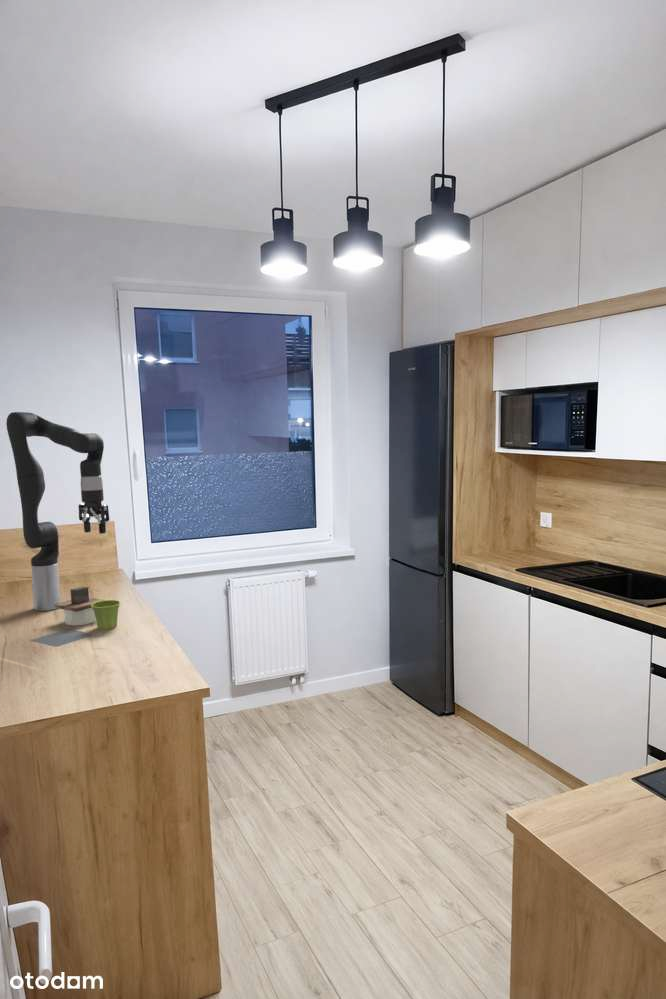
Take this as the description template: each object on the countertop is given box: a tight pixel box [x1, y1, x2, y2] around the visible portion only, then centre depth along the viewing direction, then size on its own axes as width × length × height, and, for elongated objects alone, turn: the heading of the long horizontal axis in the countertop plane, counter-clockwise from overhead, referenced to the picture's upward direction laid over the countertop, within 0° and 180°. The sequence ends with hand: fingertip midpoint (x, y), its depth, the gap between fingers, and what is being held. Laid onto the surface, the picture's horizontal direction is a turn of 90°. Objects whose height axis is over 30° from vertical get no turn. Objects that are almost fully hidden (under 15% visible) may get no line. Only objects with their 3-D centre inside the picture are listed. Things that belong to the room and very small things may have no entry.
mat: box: [30, 628, 95, 648], centre depth 211 cm, size 14×14×1 cm
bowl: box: [63, 608, 96, 626], centre depth 230 cm, size 10×10×6 cm
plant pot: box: [91, 599, 121, 631], centre depth 221 cm, size 9×9×9 cm
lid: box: [55, 585, 106, 612], centre depth 229 cm, size 12×12×6 cm
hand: (95, 532), depth 238 cm, fingers open, 8 cm apart
